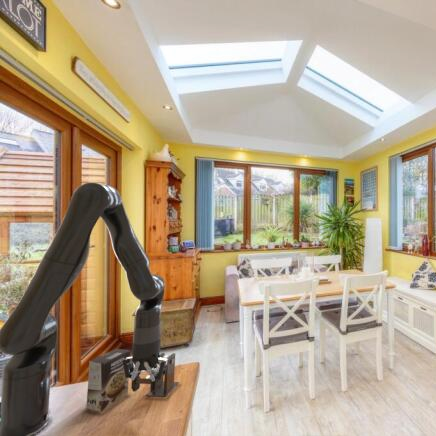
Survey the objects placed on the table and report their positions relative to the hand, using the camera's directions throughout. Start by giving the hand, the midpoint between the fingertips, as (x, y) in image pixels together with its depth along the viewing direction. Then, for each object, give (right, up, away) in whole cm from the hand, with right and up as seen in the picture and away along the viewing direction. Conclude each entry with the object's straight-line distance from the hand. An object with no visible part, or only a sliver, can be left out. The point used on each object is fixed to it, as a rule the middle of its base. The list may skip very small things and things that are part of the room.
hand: (144, 390), depth 84 cm
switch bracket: (0, -7, +10) cm, 12 cm away
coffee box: (-14, -7, +3) cm, 16 cm away
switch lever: (0, +2, +5) cm, 6 cm away
